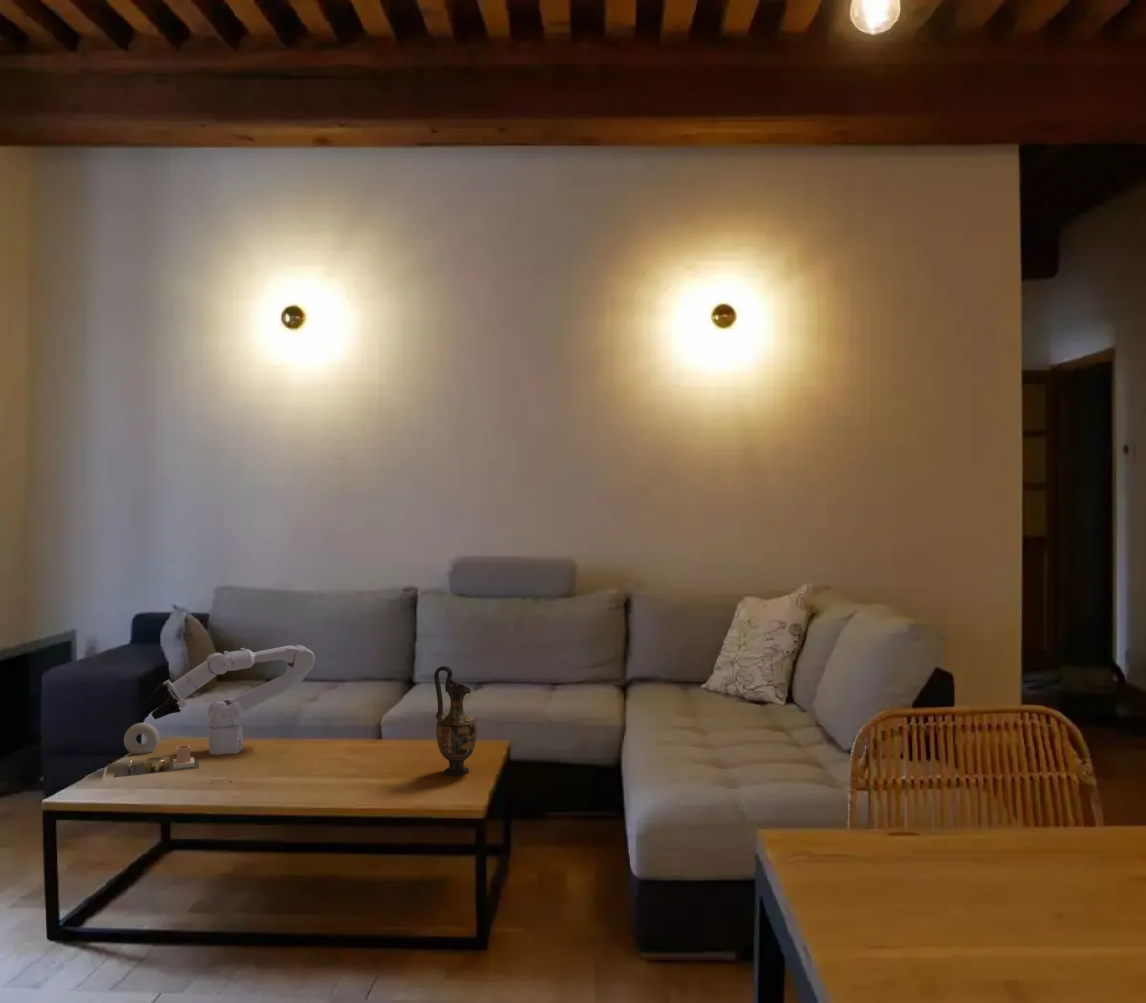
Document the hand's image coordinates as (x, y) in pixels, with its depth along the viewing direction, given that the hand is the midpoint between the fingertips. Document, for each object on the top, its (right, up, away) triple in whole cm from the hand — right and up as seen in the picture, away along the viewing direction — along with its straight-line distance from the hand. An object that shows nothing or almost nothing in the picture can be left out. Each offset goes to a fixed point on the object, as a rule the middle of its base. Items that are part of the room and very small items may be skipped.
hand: (149, 711), depth 277 cm
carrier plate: (+5, -16, -7) cm, 18 cm away
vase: (+91, -16, -6) cm, 92 cm away
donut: (-6, -16, +9) cm, 19 cm away
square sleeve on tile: (+12, -15, -4) cm, 19 cm away
